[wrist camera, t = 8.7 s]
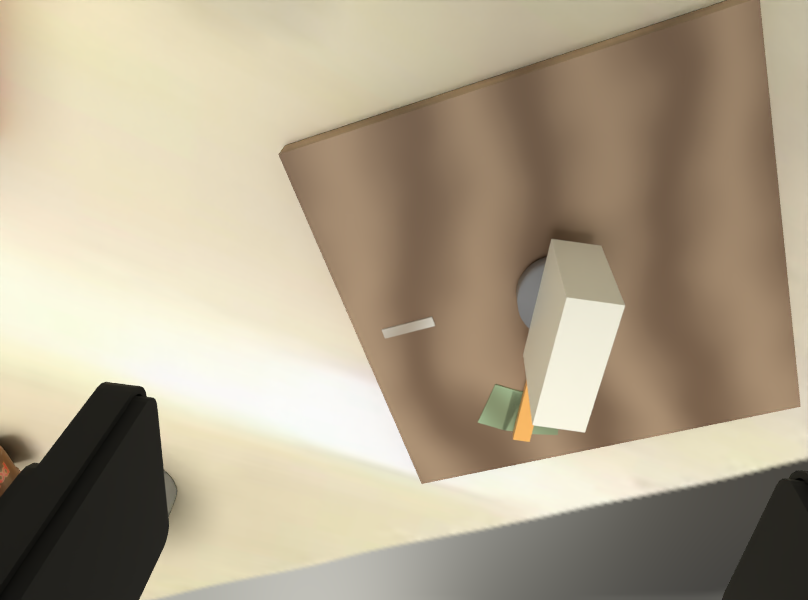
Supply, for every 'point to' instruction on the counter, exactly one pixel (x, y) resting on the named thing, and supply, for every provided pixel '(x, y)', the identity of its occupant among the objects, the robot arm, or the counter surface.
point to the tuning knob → (565, 335)
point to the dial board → (566, 238)
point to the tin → (6, 471)
